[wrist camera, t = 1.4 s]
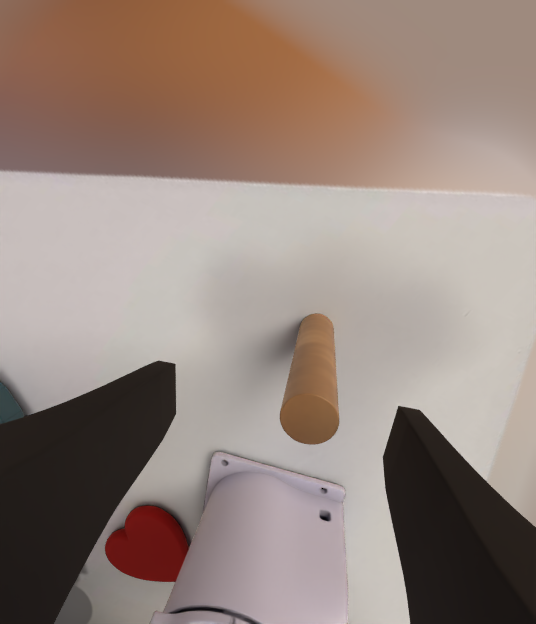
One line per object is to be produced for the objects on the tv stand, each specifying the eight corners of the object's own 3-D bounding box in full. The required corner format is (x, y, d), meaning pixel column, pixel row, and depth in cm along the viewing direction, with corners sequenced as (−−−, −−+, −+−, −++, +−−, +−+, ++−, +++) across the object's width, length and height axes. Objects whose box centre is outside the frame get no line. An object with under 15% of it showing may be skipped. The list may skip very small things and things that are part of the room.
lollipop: (294, 603, 26) (145, 493, 26) (293, 616, 25) (139, 503, 25) (237, 642, 29) (101, 544, 28) (234, 655, 28) (94, 554, 27)
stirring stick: (337, 317, 19) (346, 402, 11) (329, 348, 20) (331, 451, 11) (303, 310, 19) (285, 387, 11) (296, 340, 20) (274, 436, 11)
